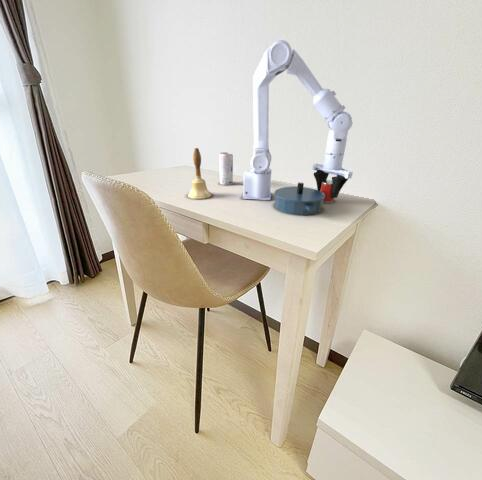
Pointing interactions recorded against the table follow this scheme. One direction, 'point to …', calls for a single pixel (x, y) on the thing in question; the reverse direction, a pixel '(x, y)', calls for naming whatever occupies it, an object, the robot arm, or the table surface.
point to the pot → (298, 207)
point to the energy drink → (226, 168)
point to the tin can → (327, 190)
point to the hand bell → (198, 180)
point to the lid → (300, 194)
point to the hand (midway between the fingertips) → (327, 195)
